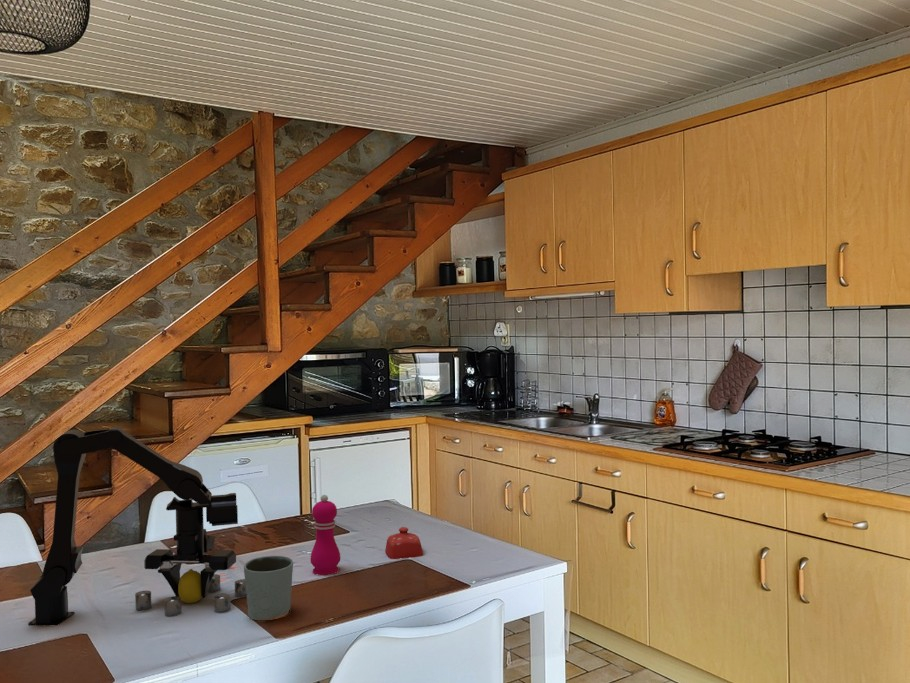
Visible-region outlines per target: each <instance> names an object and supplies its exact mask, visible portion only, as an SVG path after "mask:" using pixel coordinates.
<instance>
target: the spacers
mask: <svg viewBox="0 0 910 683" xmlns="http://www.w3.org/2000/svg"><path fill="white" fill-rule="evenodd" d="M220 578H221V576H220V575H219V574H217V573H216V574H215V573H214V576H213V578H212V581H211V584H210V587H209V590H208V593H209V594H210V593H212V594H213V593H217V592H220V591H221V582H220ZM208 593H207V594H208ZM234 597H236V598H245V597H246V598H247V593H246V583H245V578H242V579H237V580H235V581H234ZM134 598H135V599H134V600H135V603H134V604H135V611H136V612H145V611H149V610H151V609H152V591H151V590H141V591H138V592H135V594H134ZM213 601H214V613H216V614H222V613H227V612H229V611H231V594H229V593H219V594H217V595H214V600H213ZM181 613H182V600H181V597H179V596H176V595H175V596H174V595H173V596H172V595H171V596H169V597H166V598H164V616H165V617H176V616H179V615H180V614H181Z"/></svg>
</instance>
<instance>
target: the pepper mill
mask: <svg viewBox="0 0 910 683" xmlns="http://www.w3.org/2000/svg"><path fill="white" fill-rule="evenodd" d="M328 499H329V496H328V495H326V494H322V495H321V497H320V501H318V502H316V503H315V504H314V505H313V507H312V510H311V515H312V518H313V519H314V520H315V521H314V522H313V523H314V524H313V525H314V528H315V530H316V531H315V532H316V535H315V542H314V545H313V548H312V550H311V554H310V564H311V565H312V566H313V569H312V574H314V575H316V574H318V575H317V576H326V575H325V574H330V575H333V574H332V573H334V574H336V573H338V572H339V571H338V570H339V569H340V568H339V567H338V565H339V564H340V562H341V552H340V549H339V546H338V545H337V543H336V540H335V535H334V534H335V533H334V531H335V530H334V528H335V527H336V524H335V523H336V520H335V518H336V517H337V514H338V508H337V506H336V504H335V503H334V502H332V501H331V500H330V501H329V500H328ZM337 571H338V572H337ZM335 572H336V573H335ZM319 574H320V575H319Z"/></svg>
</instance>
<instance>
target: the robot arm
mask: <svg viewBox="0 0 910 683" xmlns="http://www.w3.org/2000/svg"><path fill="white" fill-rule="evenodd" d="M106 449H113V450H115V451H117V452H118V453H120V454H122V455H123V456H124V457H126V458H128V459H129V460H130V461H132V462H133V463H136V464H137V465H139V466H141V468H144V469H145V470H147V471H148V472H150V473H151V474H153V475H155V476H156V477H158V479H160V480H161V481H162V482H163V483H164V485H165V486H166V487H167V488H168V489H169V490H170V491H171V492H172V493H174V495H175V496H173V498H172V500H171V501H170V502H169V503H167V505H166V507H165V510H166V511H175V535H173V542H175V541H176V543H175V544H176V553H175V554H174V552H173V550H172V549H171V548H170V549H169V548H167V549H165V548H164V549H161V548H159V549H158V548H157V549H155V550H153V551H152V552H150V553H148V554H147V555H146V557H145V558H144V560H143V562H144V563H143V565H144V569H145V570H157V573H159V574H161V575H162V576H163V577H164V579H165V580H166V582H167V583H168V585H169V586H170V588H171V590H172V592H173V594H174V595H175V596H179V593H178V584H179V580H180V578H181V568H182V564H184V565H185V564H187V565H188V564H189V565H190V564H191V565H192V564H193V565H194V564H196V565H197V564H199V565H200V564H201V565H204V568H203V569H201V571H200V572H199V573H200V574H201V593H202V597H201V599H204V600H205V599H206V598H207V596H208V590H209V587H210V584H211V581H212V578H213V576H214V574H215V573H216V572H217V571H226V570H230V569H229V568H230V567H231V566H232V565H234V564H236V563H237V554H236V552H235V551H234V550H233V549H217V551H215V552H214V553H213V554H206V553H208V552H211V551H214V549H215V540H216V539H215V538H216V536H213V535H210V534H209V535H208V534H207V529H206V528H204V508H205V511H206V512H205V513H206V516H205V517H206V518H205V519H206V520H205V521H206V523H208V524H209V525H211V526H212V527H217V526H231V525H238V524H239V520H238V519H239V518H238V517H239V515H238V512H239V511H238V504H237V493H236V492H231V493H227V494H217V495H216V494H214V495H213V494H212V492H211V491H210V490H209V488H208V487H207V486H206V485H205V484H204V482H203V481H204V480H203V476H202V474H201V472H200V471H198V470H196V469H194V468H192V467H189V466H186V465H184V464H181V463H178V462H176V461H173V460H170V459H168V458H167V457H165V456H163V455H161V454H160V453H158V452H157V451H156V450H154V449H153V448H151V447H149V446H148V445H146V444H144V443H143V442H141V441H140V440H139V439H137V438H135V437H134V436H132V435H131V434H129V433H127V432H126V431H125V430H124V429H123V428H122V427H119V426H114V427H113V426H112V427H111V428H105V429H98V430H89V431H81V430H80V429H71V430H68V431H65V432H64V433H62V434H61V435H60V436H59V437H57V438H55V440H54V442H53V446H52V450H53V451H52V452H53V460H54V465H55V469H56V473H57V485H56V494H55V496H56V497H55V508H54V518H53V519H54V520H53V521H54V522H53V530H52V542H51V545H50V548H49V551H48V554H47V557H46V559H45V561H44V562H45V563H44V567H43V570H42V573H41V574H42V575H41V576H40V577H39V578H38V580H37V581H36V582H35V583H34V585H33V586H32V587H31V589H30V594H31V596H32V598H33V599H34V613H35V614H34V616H35V617H34V618H33V619H32V620H30V621H29V622H28V626H37V627H38V626H44V625H45V626H47V627H49V626H50V625H55V626H58V624H59V625H60V624H62V623H63V622H65V621H66V620H68V619H70V618H72V617H73V616H74V615H75V611H69V600H68V598H69V596H68V595H69V594H68V586H67V585H68V584H69V583H70V582H71V581H72V579H73V578H74V576H75V574H77V573H78V571H79V569H80V568H81V566H82V565H83V560H82V553H83V550H84V545H78V546H77V544H76V538H75V533H76V532H75V531H76V522H77V510H78V509H77V508H78V498H79V497H78V496H79V487H80V486H79V485H80V474H81V471H82V468H83V467H84V466H83V465H84V462H85V460H86V456H87V454H91V453H93V452H97V451H102V450H106Z"/></svg>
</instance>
